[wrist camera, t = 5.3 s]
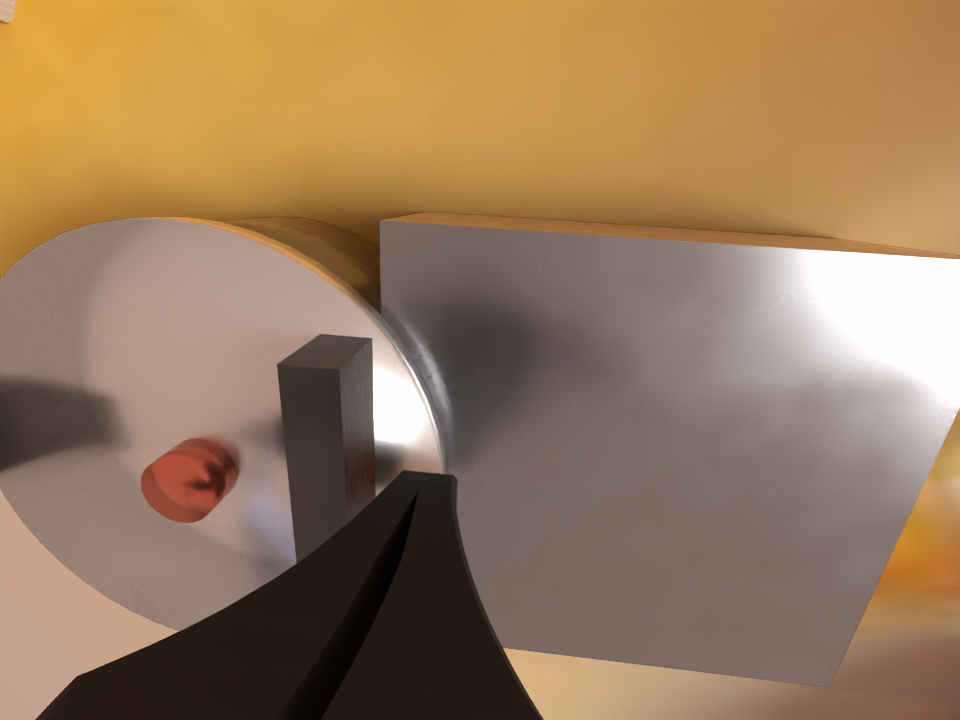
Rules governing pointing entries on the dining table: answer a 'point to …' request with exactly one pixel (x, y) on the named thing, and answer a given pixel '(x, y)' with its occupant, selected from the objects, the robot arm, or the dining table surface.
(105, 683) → the robot arm
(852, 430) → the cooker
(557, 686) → the dining table surface
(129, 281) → the lid
